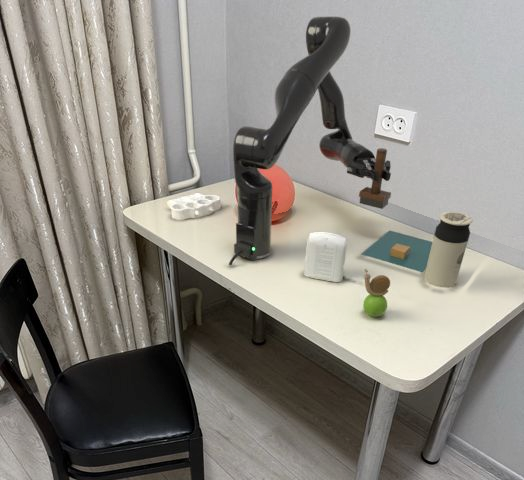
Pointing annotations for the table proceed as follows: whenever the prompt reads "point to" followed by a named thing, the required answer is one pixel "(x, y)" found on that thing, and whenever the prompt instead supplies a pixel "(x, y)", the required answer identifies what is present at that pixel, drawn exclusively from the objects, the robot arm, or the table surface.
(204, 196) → the white holed tray
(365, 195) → the brown post on base
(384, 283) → the snail figurine
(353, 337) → the table surface
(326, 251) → the photo printer
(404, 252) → the orange square block
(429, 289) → the table surface
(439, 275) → the travel mug
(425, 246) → the tile
